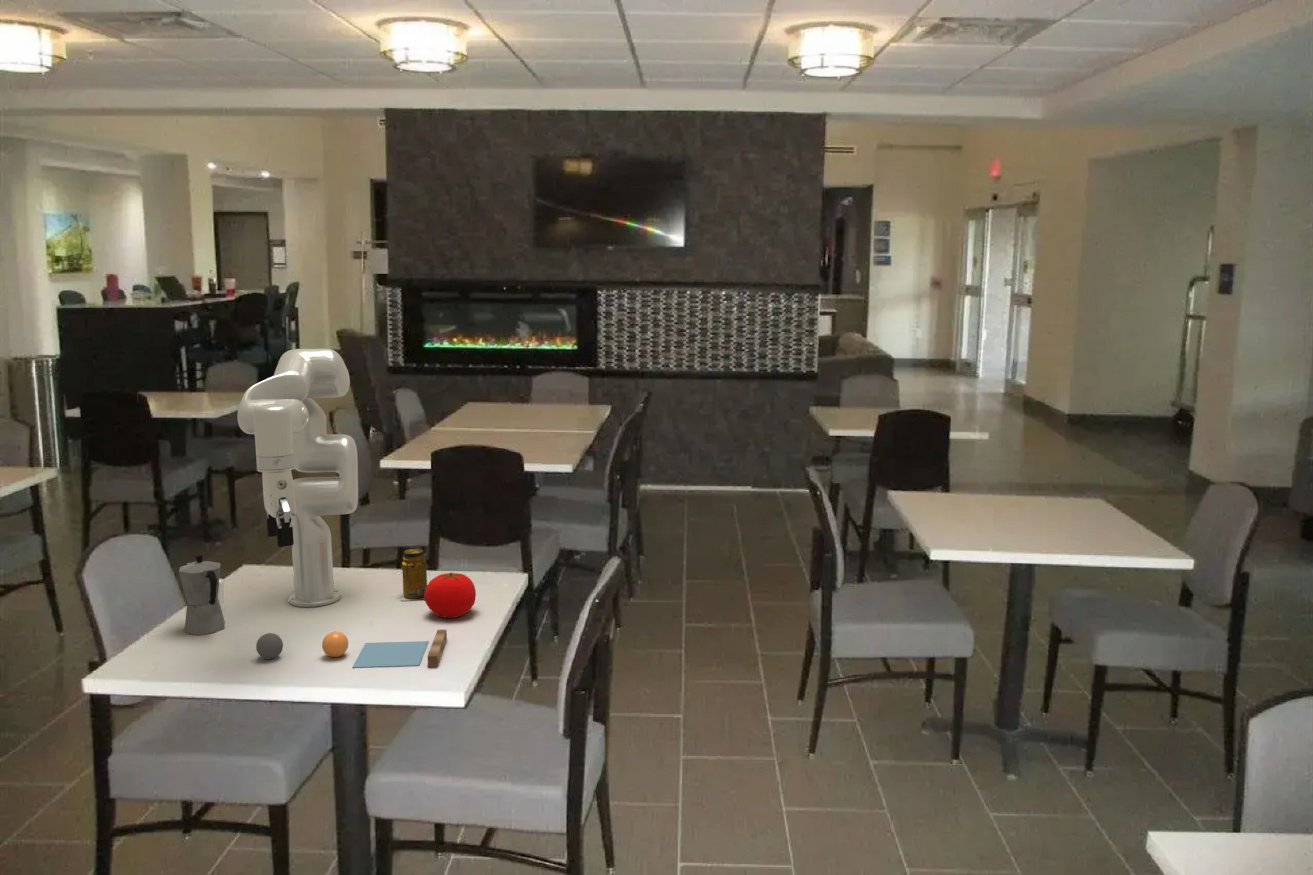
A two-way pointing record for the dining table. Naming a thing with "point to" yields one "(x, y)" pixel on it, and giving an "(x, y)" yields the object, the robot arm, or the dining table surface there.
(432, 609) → the tomato
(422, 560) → the condiment
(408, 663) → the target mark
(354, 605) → the dining table surface
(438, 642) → the stopper wall
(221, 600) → the shot glass
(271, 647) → the gray sphere
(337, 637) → the object ball
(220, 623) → the coffeepot
